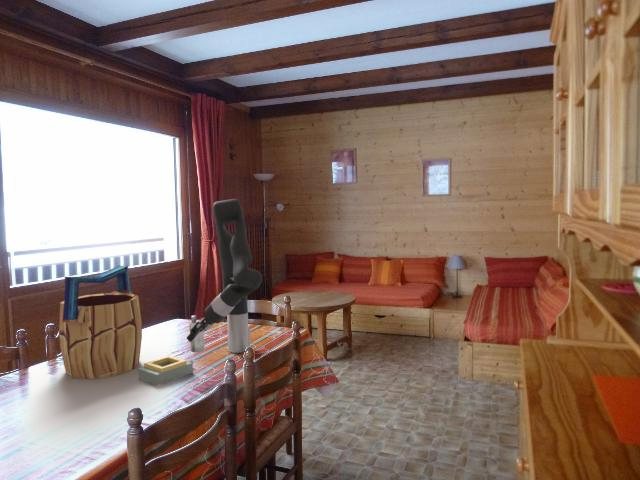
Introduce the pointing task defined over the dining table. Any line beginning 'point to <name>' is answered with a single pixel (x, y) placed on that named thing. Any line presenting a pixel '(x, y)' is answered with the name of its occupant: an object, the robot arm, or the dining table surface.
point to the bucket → (100, 328)
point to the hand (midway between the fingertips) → (192, 337)
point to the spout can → (197, 337)
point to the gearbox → (164, 370)
